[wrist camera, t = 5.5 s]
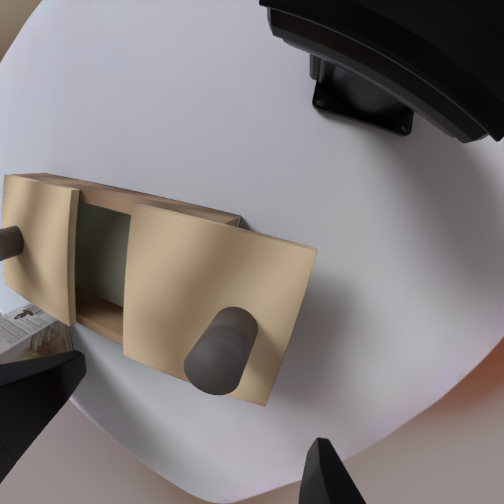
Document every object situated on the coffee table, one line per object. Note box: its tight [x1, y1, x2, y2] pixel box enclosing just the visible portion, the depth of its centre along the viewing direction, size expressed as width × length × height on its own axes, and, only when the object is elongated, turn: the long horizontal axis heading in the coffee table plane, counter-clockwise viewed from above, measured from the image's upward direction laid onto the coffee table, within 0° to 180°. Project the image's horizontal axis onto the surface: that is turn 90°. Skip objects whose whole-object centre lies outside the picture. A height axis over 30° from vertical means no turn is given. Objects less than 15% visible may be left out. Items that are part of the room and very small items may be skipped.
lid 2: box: [123, 203, 317, 406], centre depth 13 cm, size 10×10×5 cm
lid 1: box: [0, 175, 80, 327], centre depth 15 cm, size 10×10×5 cm
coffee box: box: [0, 302, 73, 365], centre depth 18 cm, size 9×6×16 cm
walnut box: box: [13, 173, 241, 345], centre depth 19 cm, size 20×10×4 cm, turn 76°
